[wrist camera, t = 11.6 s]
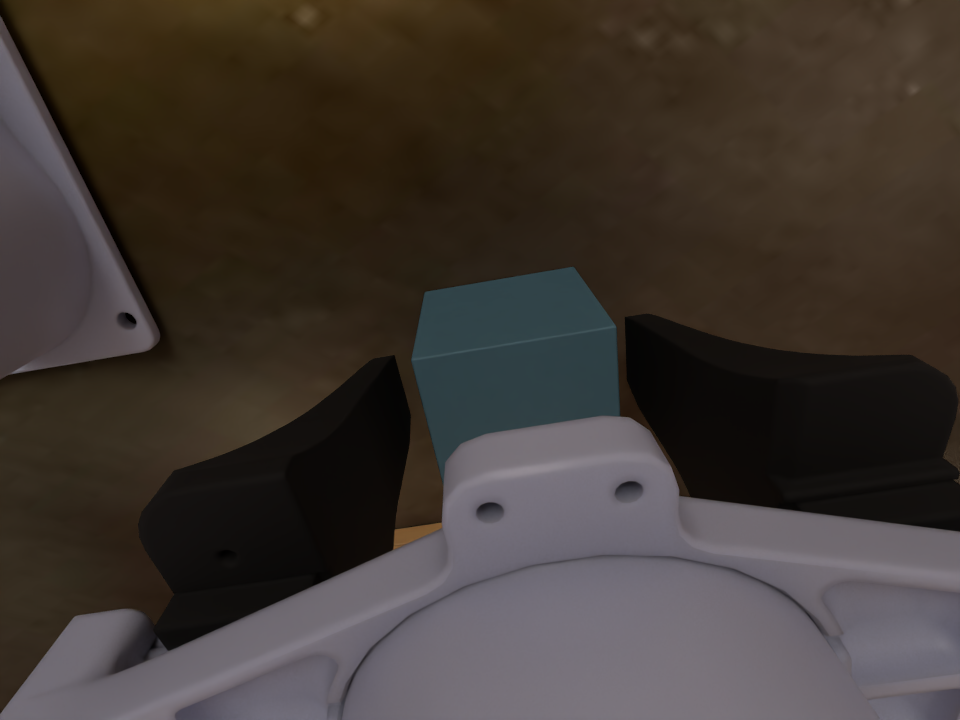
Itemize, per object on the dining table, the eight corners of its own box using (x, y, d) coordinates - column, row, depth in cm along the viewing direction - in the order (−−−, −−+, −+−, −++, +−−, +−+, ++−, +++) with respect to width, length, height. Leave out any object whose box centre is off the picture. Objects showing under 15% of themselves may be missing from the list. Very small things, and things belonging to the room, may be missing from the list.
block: (424, 291, 14) (410, 360, 10) (574, 266, 14) (617, 325, 10) (452, 416, 16) (449, 512, 12) (584, 395, 16) (623, 486, 12)
